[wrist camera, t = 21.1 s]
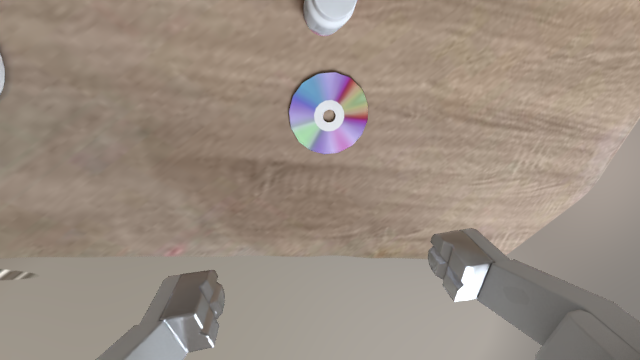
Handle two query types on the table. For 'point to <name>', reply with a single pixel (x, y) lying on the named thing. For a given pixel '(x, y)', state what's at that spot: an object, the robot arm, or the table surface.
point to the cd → (323, 96)
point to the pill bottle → (327, 15)
